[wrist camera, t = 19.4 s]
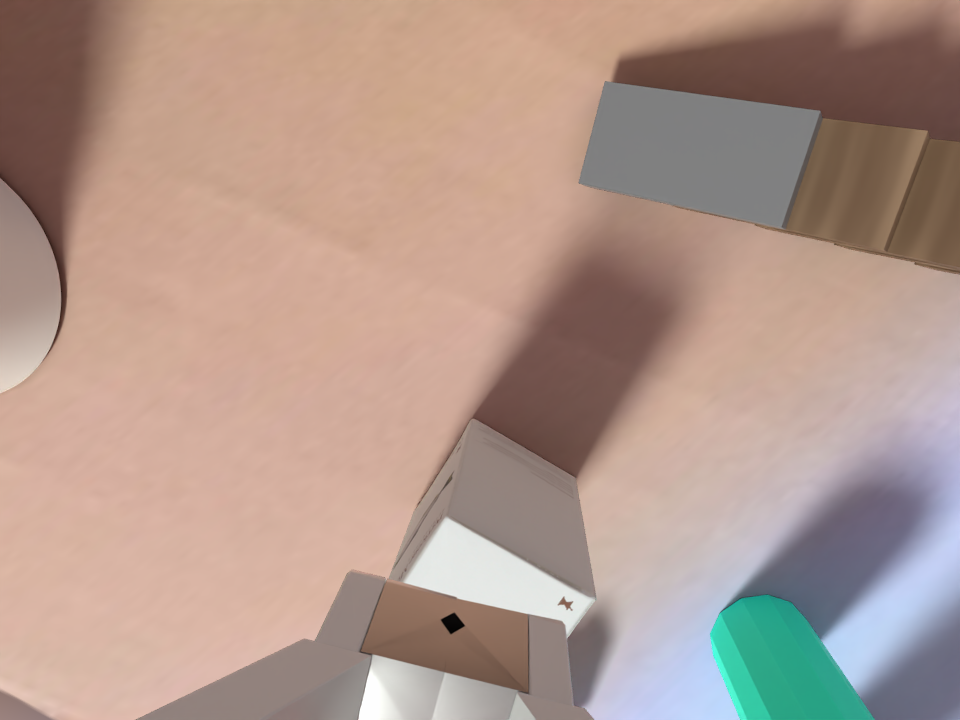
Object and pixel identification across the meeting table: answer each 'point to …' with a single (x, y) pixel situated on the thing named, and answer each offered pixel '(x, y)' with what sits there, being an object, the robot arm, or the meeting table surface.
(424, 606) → the robot arm
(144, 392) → the meeting table surface
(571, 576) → the supplement box
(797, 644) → the candle
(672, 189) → the gray domino
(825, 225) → the domino
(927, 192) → the domino
